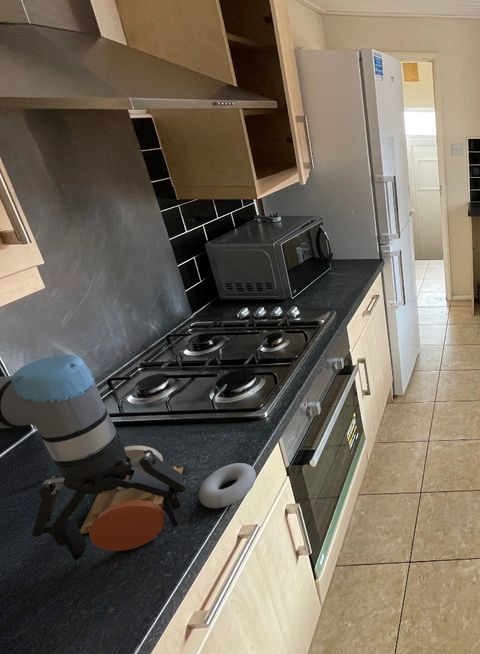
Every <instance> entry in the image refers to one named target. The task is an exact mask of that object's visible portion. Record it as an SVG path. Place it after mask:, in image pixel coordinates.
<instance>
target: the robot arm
mask: <svg viewBox="0 0 480 654" xmlns="http://www.w3.org/2000/svg"><path fill="white" fill-rule="evenodd" d="M95 380H96V379H95V376H94V375H93V373H91V371H90V370H89V368H88V366H87V365H86V362H85V360H84V359H83V358H81V356H78V355H74V354H56V355H54V356H52V357H43V358H40V359H38V360H35V361H32V362H30V363H27V364H26V365H23V366H22V367H20V368H19V369H18V370H16V371H15V372H14V374H13V375H8V376H7V375H6V376H0V429H1V430H2V429H8V428H9V429H10V428H19V427H25V426H34V428H35V429H36V431H37V432H38V434H39V436H40V438H41V440H42V441H43V443H44V446H45V447H46V449H47V451H48V453H49V455H50V457H51V458H52V460H53V461H54V463H55V466H56V468H57V469H58V471H59V474H60V475H61V477H57V476H56V475H49V476H47V477H46V478H45V480H44V482H43V483H42V485H41V487H40V488H39V490H38V492H39V495H40V499H41V501H40V504H39V508H38V511H37V514H36V518H35V522H34V525H33V529H32V532H31V536H32V537H35V538H39V537H40V536H42V535H43V534H48V535H50V536H52V537H53V538H54V540H55V541H56V543H57V545H58V546H60V547H63V546H66V548H67V549H68V550H69V552H70V555H71V556H72V558H73V560H74V561H78V560H80V559H82V557H83V555H84V552H85V550H86V548H87V546H88V542H87V541H86V539H85V538H84V536H83V534H81V532H80V530H81V529H80V528H79V527H78V525H77V523H76V521H75V520H74V518H71V516H72V514H73V513H74V512H75V510H76V508H77V507H78V505H80V503H81V502H82V501H83V499H84V498H85V496H86V495H92V496H97V495H98V494H100V493H102V492H104V491H109V490H114V489H117V487H122V488H125V489H129V488H134V489H137V490H141V491H144V492H148V493H151V494H154V495H158V496H161V497H164V498H163V501H162V503H163V505H164V507H165V508H164V509H165V512H166V514H167V517H168V518H169V521H170V523H171V527H172V528H175V527H178V526H179V525H180V521H181V517H182V511H181V509H180V508H181V506H182V501H183V498H182V495H181V493H183V492H185V491H186V489H187V486H188V483H189V476H187V475H185V474H183V472H182V473H180V472H178V471H177V470H175V469H173V468H172V467H173V466H171V465H169V464H167V463H166V462H164V461H163V462H162V461H161V460H159V459H157V458H156V456H155V455H154V453H153V452H152V451H151V450H146V451H144V453H143V455H141V456H138V457H135V458H130V457H128V456H127V455H126V452H125V449H124V447H125V446H124V445H123V442H122V440H121V437H120V436H119V433H117V429H116V426H115V425H114V423H113V420H112V418H111V416H110V414H109V412H108V409H107V407H106V406H105V404H104V402H103V399H102V396H101V394H100V392H99V388H98V386H97V384H96V381H95ZM133 466H137V467H139V469H137V468H134V467H133ZM142 469H143V470H144V471H145V472H146V473H148V474H145V473H142V472H140V470H142ZM127 475H129V479H128V480H127V479H125V478H126V477H127ZM63 487H65V488H68V489H69V490H70V489H71V490H73V491H75V492H74V493H73V494H72V496H71V497H70V499H69V500H68V501H67V503H66V504H65V505H64V507H63V509H62V510H61V511H60V513H59V514H58V515H57V517H56V518H55V519H51V517H52V515H53V510H54V508H55V504H56V501H57V497H58V493H59V492H61V490H62V488H63Z"/></svg>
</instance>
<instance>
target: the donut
mask: <svg viewBox="0 0 480 654" xmlns="http://www.w3.org/2000/svg"><path fill="white" fill-rule="evenodd" d="M256 475H257V473H256V470H255V469H254V467H253V466H252V465H250V464H248V463H245V462H235V463H230V464H227V465H224V466H222V467H220V468H218V469H216V470H215V471H214V472H212V473H211V474H210V475H208V476H207V478H206V479H205V480H204V481H203V482H202V484H201V485H200V488H199V489H198V500H199V502H200V504H201V505H202V506H204V507H206V508H208V509H222V508H226V507H228V506H231V505H234V504H235V503H237V502H238V501H240V500H241V499H243V498H244V497H245V496H247V494H248V493H250V491H251V490H252V489H253V487H254V486H255V482H256V480H257V476H256ZM232 481H235V482H234V483H233V484H232V485H230V486H228V487H225V488H221V487H222V486H224V485H225V484H227V483H230V482H232Z"/></svg>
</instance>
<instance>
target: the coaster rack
mask: <svg viewBox="0 0 480 654" xmlns="http://www.w3.org/2000/svg"><path fill="white" fill-rule="evenodd" d="M171 467H172V468H173V469H175V470H177V471H178V472H180V473H182V474H183V471H184V470H183V469H184V467H183V466H182V467H177V466H176V465H174V466H171ZM163 498H164V497H161V496H158V495H154V494H151V493H148V492H144V491H141V490H137V489H134V488H130V489H126V490H117V489H114V490H109V491H104V492H102V493H100V494H97V495H96V498H95V500H94V502H93V504H92V506H91V508H90V510H89V512H88V514H87V515H86V518H85V520H84V521H83V524H82V526H81V528H80V529H79V530H80V532H81V534H82V535H84V534H87V533H89V532H90V528H91V526H92V524H93V522H94V520H95V519H96V517H97V516H98V515H99V514H100V513H102V512H103V511H104V510H106V509H107V508H109V507H111V506H113V505H116V504H119V503H122V502H126V501H133V500H143V501H149V502H153V503H155V504H157V505H159V506H160V507H161V508H162V509H163V510H164V509H165V507H164V505H163V503H162V501H163Z"/></svg>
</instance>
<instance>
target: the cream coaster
mask: <svg viewBox="0 0 480 654" xmlns="http://www.w3.org/2000/svg"><path fill="white" fill-rule="evenodd" d="M124 449H125V452H126V455H127V456H128V457H130V458H135V457H138V456H141V455H143V453H144V451H146V450H151V451H152V452H153V453H154V455H155V456H156V458H157V459H159V460H161V461H162V462H164V457H163V454H161V453H160V452H159V451H158V450H156V449H155V448H153V447H150V446H146V445H128V446H124ZM133 467H134V468H137V469H139V467H137V466H133ZM140 472H142V473H145V474H148V473H146V472H145V471H144V470H143V469H142V470H140ZM125 479H127V480H128V479H129V475H127V477H126V478H125ZM129 489H130V488H129ZM117 490H126V489H125V488H122V487H117Z"/></svg>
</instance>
